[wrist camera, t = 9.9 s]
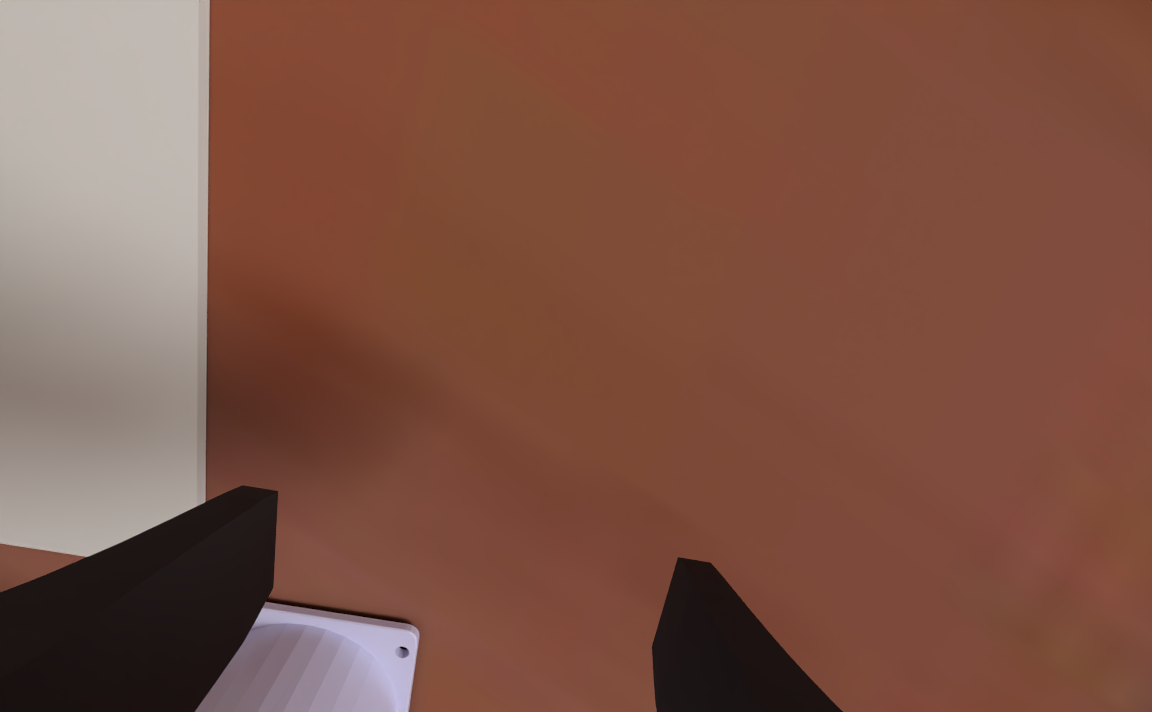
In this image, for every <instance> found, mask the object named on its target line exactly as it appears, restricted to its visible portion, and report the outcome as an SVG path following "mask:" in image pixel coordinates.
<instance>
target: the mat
mask: <svg viewBox="0 0 1152 712" xmlns="http://www.w3.org/2000/svg"><path fill="white" fill-rule="evenodd" d="M209 10H210V0H0V543H2V544H8V545H15V546H21V547H27V548H34V549H40V550H47V551H53V552H60V553H66V554H72V555H79V556H85V557H88V556H91V555H93V554H95V553H98V552H100V551H102V550H105V549H107V548H109V547H112V546H114V545H116V544H118V543H121V542H123V541H125V540H127V539H129V538H132V537H134V536H136V535H138V534H140V533H142V532H144V531H146V530H148V529H151V528H153V527H155V526H157V525H159V524H161V523H163V522H165V521H167V520H170V519H172V518H174V517H176V516H178V515H180V514H182V513H184V512H186V511H188V510H190V509H192V508H194V507H196V506H199V505H201V504H203V503H205V491H206V371H207V251H208V130H209Z"/></svg>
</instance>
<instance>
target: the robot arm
mask: <svg viewBox="0 0 1152 712" xmlns="http://www.w3.org/2000/svg"><path fill="white" fill-rule="evenodd" d="M277 502H278V491H273V490H267V489H261V488H255V487H249V486H240V487H238V488H235V489H233V490H231V491H228V492H226V493H224V494H222V495H220V496H217V497H215V498H213V499H211V500H209V501H207V502H205V503H203V504H201V505H199V506H196V507H194V508H192V509H190V510H188V511H186V512H184V513H182V514H180V515H178V516H176V517H174V518H172V519H170V520H167V521H165V522H163V523H161V524H159V525H157V526H155V527H153V528H151V529H148V530H146V531H144V532H142V533H140V534H138V535H136V536H134V537H132V538H129V539H127V540H125V541H123V542H121V543H118V544H116V545H114V546H112V547H109V548H107V549H105V550H102V551H100V552H98V553H95V554H93V555H91V556H88V557H86V558H84V559H82V560H79V561H77V562H75V563H72V564H70V565H68V566H65V567H63V568H61V569H58V570H56V571H54V572H51V573H49V574H47V575H44V576H42V577H39V578H37V579H34V580H32V581H29V582H27V583H24V584H21V585H19V586H16V587H14V588H11V589H8V590H6V591H3V592H0V712H409V706H410V699H411V692H412V685H413V678H414V671H415V664H416V657H417V650H418V643H419V631H418V630H417V628H415V627H414V626H413V625H410V624H406V623H399V622H393V621H386V620H380V619H373V618H367V617H360V616H354V615H347V614H341V613H334V612H327V611H321V610H314V609H308V608H301V607H295V606H288V605H282V604H275V603H269V602H266V600H267V598H268V597H269V595H270V593H271V591H272V589H273V581H274V561H275V541H276V521H277ZM400 647H405V648H407V649H408V650H404V649H401V648H400ZM652 655H653V673H654V688H655V701H656V708H657V712H843V711H842V710H841V709H839V708H838V707H837V706H836V705H835V704H834V703H833V702H832V701H831V700H830V699H829V697H828V696H827V695H826V694H825V693H824V692H823V691H822V690H821V689H820V688H819V687H818V686H817V685H816V684H815V683H814V682H813V681H812V680H811V679H810V678H809V677H808V675H807V674H806V673H805V672H804V671H803V670H802V669H801V668H800V667H799V666H798V665H797V664H796V662H795V661H794V660H793V659H792V658H791V657H790V656H789V655H788V654H787V653H786V651H785V650H784V649H783V648H782V647H781V646H780V645H779V643H778V642H777V641H776V640H775V639H774V638H773V636H772V635H771V634H770V633H769V632H768V631H767V629H766V628H765V627H764V626H763V625H762V624H761V622H760V621H759V620H758V619H757V618H756V616H755V615H754V614H753V613H752V612H751V610H750V609H749V608H748V607H747V606H746V604H745V603H744V602H743V601H742V599H741V598H740V597H739V596H738V595H737V593H736V592H735V591H734V590H733V588H732V587H731V586H730V585H729V584H728V582H727V581H726V580H725V579H724V578H723V576H722V575H721V574H720V573H719V572H718V571H717V569H716V568H715V567H714V566H713V565H712V564H711V563H709V562H703V561H697V560H691V559H685V558H679V557H678V559H677V563H676V566H675V570H674V573H673V577H672V580H671V583H670V587H669V590H668V594H667V597H666V600H665V604H664V607H663V611H662V614H661V618H660V621H659V624H658V628H657V631H656V635H655V638H654V641H653V645H652Z"/></svg>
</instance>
